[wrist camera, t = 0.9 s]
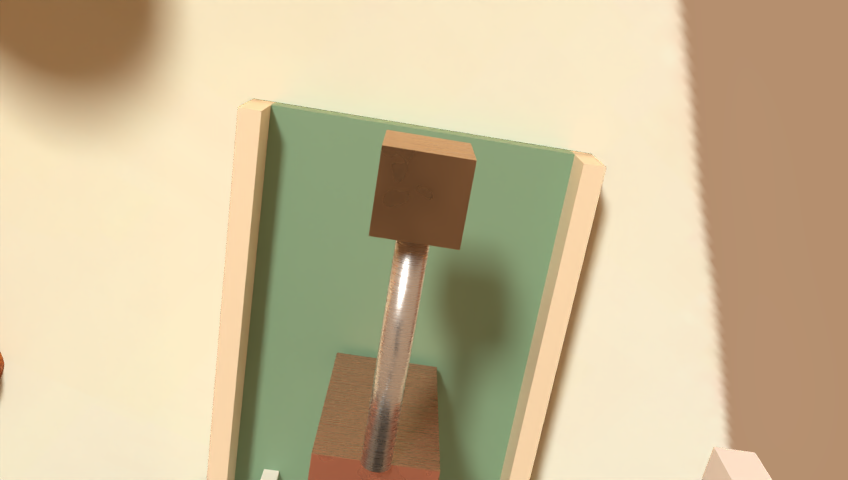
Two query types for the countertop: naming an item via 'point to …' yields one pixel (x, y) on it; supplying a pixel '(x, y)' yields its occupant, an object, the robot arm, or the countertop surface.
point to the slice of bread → (1, 364)
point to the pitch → (368, 284)
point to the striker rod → (397, 322)
